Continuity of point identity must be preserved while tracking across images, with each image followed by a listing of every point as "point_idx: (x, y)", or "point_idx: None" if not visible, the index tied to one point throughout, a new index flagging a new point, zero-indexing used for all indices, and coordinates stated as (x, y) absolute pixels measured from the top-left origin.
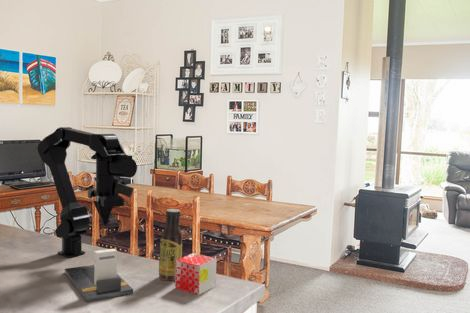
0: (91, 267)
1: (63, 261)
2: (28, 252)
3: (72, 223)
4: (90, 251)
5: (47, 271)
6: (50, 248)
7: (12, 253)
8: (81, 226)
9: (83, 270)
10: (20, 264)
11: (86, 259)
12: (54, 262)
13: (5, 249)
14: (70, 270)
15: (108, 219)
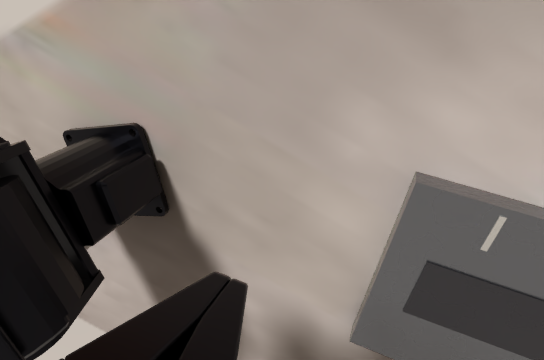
0: (431, 278)
1: (207, 248)
2: None
3: (42, 345)
4: (112, 80)
5: (293, 343)
6: None
7: None
8: (38, 255)
9: (443, 323)
10: None
11: (229, 168)
12: (203, 274)
13: None
14: (390, 344)
15: (236, 344)
